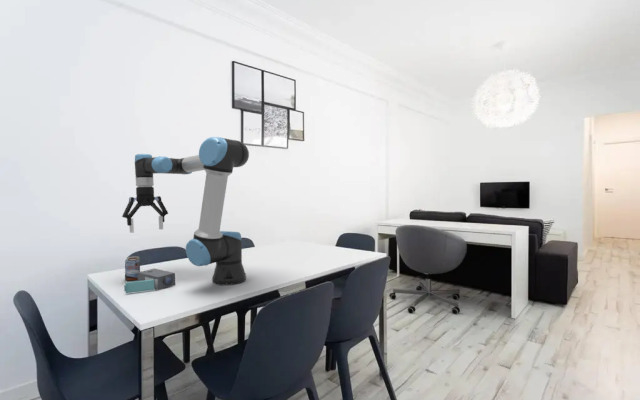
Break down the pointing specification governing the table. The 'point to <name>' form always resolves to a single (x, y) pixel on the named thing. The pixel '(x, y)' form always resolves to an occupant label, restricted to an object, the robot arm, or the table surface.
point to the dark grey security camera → (158, 277)
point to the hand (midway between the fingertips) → (147, 230)
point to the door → (140, 286)
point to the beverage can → (132, 269)
